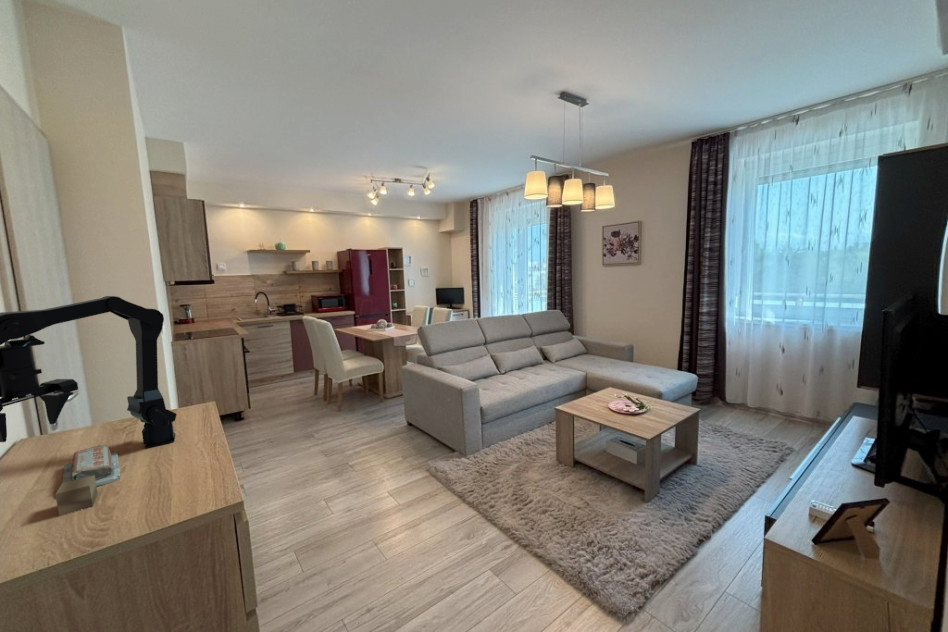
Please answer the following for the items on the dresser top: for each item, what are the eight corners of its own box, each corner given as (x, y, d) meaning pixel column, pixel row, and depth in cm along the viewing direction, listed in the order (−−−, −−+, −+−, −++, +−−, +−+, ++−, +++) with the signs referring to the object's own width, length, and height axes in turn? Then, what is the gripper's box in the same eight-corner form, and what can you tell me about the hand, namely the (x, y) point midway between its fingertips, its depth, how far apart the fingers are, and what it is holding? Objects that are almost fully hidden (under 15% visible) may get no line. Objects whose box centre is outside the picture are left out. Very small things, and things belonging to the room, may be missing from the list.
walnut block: (98, 495, 85) (94, 475, 84) (92, 507, 81) (89, 485, 80) (66, 504, 82) (62, 483, 81) (59, 516, 78) (55, 494, 77)
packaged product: (62, 452, 96) (115, 439, 103) (65, 470, 97) (118, 456, 104) (57, 479, 83) (118, 462, 90) (60, 499, 84) (121, 481, 91)
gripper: (34, 357, 95) (46, 415, 97) (-79, 380, 76) (-62, 452, 78) (74, 357, 94) (85, 416, 96) (-30, 380, 75) (-14, 453, 78)
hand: (29, 432), depth 87 cm, fingers open, 9 cm apart
